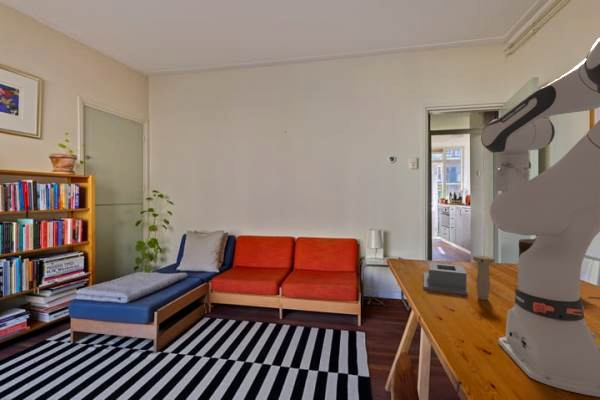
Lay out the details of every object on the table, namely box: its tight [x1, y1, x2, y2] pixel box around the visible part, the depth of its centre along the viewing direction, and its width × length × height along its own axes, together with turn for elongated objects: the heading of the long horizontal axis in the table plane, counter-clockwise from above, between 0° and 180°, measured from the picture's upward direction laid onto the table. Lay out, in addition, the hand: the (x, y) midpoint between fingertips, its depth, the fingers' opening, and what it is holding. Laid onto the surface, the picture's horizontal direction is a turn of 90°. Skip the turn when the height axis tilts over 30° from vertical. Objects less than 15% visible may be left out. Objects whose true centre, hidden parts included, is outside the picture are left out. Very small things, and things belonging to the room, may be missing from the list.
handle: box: [472, 255, 495, 301], centre depth 101 cm, size 5×6×15 cm
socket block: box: [423, 262, 469, 296], centre depth 118 cm, size 22×15×7 cm
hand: (512, 204), depth 96 cm, fingers open, 8 cm apart
